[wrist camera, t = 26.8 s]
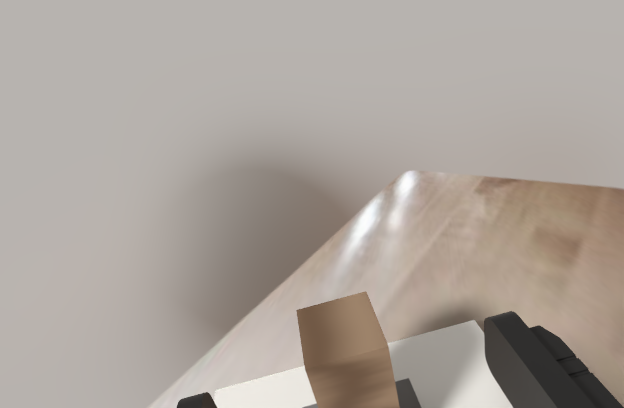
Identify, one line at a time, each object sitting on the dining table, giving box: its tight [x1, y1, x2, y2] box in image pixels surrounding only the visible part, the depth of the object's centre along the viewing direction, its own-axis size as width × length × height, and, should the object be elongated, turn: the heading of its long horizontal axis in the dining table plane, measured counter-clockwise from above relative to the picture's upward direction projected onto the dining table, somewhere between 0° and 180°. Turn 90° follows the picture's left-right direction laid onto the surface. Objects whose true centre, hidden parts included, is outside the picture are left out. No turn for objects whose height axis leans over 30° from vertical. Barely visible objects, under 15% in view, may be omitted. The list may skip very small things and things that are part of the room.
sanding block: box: [297, 292, 421, 408], centre depth 27 cm, size 9×5×12 cm, turn 98°
